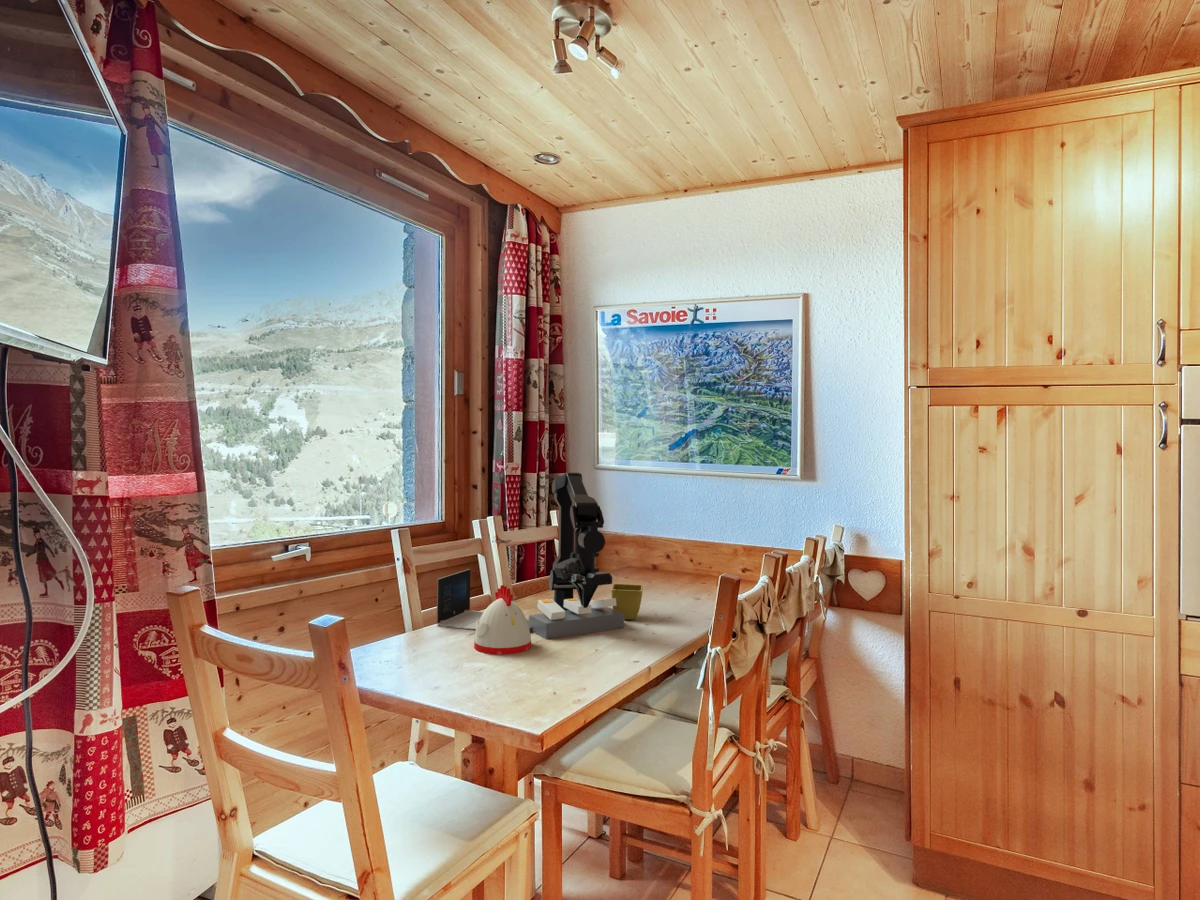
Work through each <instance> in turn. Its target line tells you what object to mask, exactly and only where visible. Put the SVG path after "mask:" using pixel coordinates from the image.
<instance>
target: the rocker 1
mask: <svg viewBox="0 0 1200 900" xmlns="http://www.w3.org/2000/svg"><path fill="white" fill-rule="evenodd" d="M536 606H537V608H538V609H539V610H540V611H541V612H542V614H543V613H544V614H545V615H546V616H547V617H548V618H549V619H550V620H556V619H563V618H565V611H564V610H563V609H562V608H561V607H560V606H559V605H558V604H557V603H556V602H555V601H554V599H553V598H546V599H545V598H544V599H538V600H537V605H536Z"/></svg>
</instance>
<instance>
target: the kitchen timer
mask: <svg viewBox="0 0 1200 900" xmlns="http://www.w3.org/2000/svg"><path fill="white" fill-rule="evenodd" d="M494 596H495V600H494V601H493V602H491V603H490V604H489V605H488V606H487V607H486V609H485V610H484V611H483V612H484V613H483V614H482V616H481V618H480V620H477V622H476V630H475V634H474V640H473V643H474V644H473V645H474V646H473V648H474V650H475V651H477V652H479V653H482V654H487V655H497V656H498V655H499V656H500V655H501V656H502V655H503V656H504V655H514V654H515V655H516V654H520V653H523V652H526V651H529V649H530V648H532V637H531V635H532V634H531V632H530V631H529V629H530V620H529V616H525V614H524V612H523V611H522V609H521V608H520V606H519V605H518V604H517V603H516V602H514V601H513V596H514V594H513V593H512V594H511V588H508V587H507V586H506V585H505V584H502V585H500V586H499V588H497V591H494Z"/></svg>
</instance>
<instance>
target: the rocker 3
mask: <svg viewBox="0 0 1200 900" xmlns="http://www.w3.org/2000/svg"><path fill="white" fill-rule="evenodd" d="M589 604H590V605H591V608H596V607H609V608H610V607H613V606H617V604H616V598H612V597H611V598H596V599H591V601H590V603H589Z"/></svg>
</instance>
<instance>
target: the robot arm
mask: <svg viewBox="0 0 1200 900" xmlns="http://www.w3.org/2000/svg"><path fill="white" fill-rule="evenodd" d="M551 492H552V494H553V499H554V502H555V503H556V504H557V507H558V543H557V545H558V550H557V551H558V552H557V553H558V554H557V557H556V558H555V559H554V561H553V563H552V569H551V570H550V575H549V578H548V588H549V589H550V591H553V601H555V602H556V603H557V604H558V605H559V606H560V607H561V608H562V609H563V610H564V611H567V610H569V609H567V608H565V607H564V600H565V599H573V598H574V590H576V592H577V595H578V599H579V600H580V602H581V606H583V607H584V608H587V607H588V605H589V603H590V601H591V600H593V599H592V598H593V596H594V594H595V592H596V591H597V588H598V587H599V586H605V585H613V575H612V574H611V573H610V572H606V571H603V570H602V571H599V570H600V569H599V567H596V563H597V562H596V561H597V560H596V559H597V558H596V557H600V552H601V551H602V550H603V549H604V548H605V545H606V539H605V536H604V535H603V533H601V531H599V529H603V528H604V523H605V520H604V515H603V510H602V509H601V507H600V505H599V503H598V502H597V500H596V499H595V498H593V497H591V496H589V495H588V492H587V489H586V487H585V485H584V482H583V476H582V473H580V472H572V471H571V472H568V471H567V472H564V473H563V474H562V475H560V476H557V477H555V478H554V479H553V481H552V483H551Z"/></svg>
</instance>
